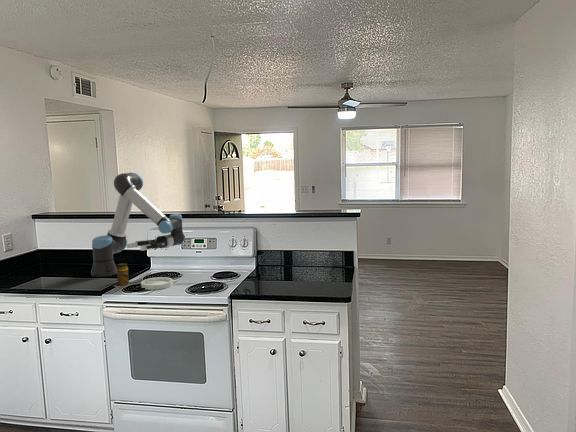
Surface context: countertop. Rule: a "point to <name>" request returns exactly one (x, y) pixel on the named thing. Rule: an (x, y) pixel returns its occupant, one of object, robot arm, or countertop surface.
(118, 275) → the condiment
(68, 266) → the countertop surface
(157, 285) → the white plate
